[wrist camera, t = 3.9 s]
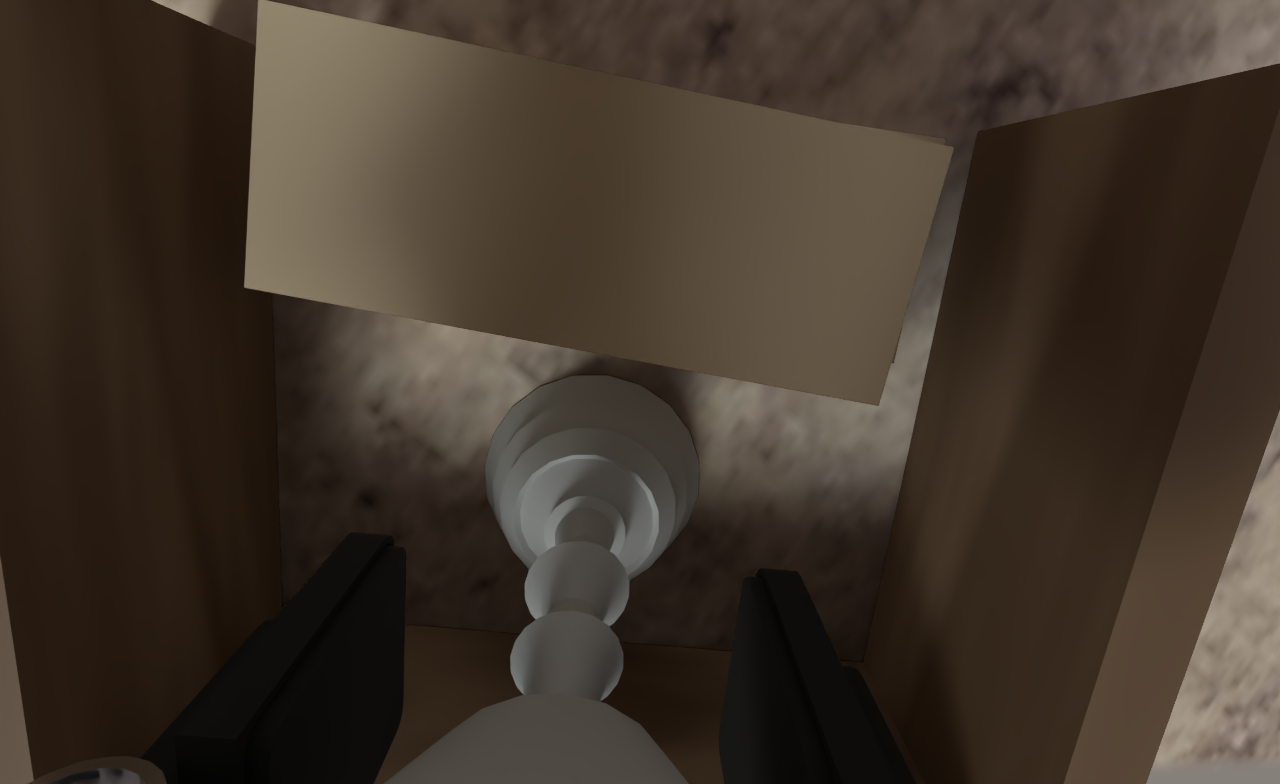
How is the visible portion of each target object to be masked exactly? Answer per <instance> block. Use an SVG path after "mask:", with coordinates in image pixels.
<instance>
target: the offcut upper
mask: <svg viewBox="0 0 1280 784" xmlns="http://www.w3.org/2000/svg"><path fill="white" fill-rule="evenodd" d="M953 150H954V147H950V146H945V145H941V144H936V143H931V142H927V141H922V140H917V139H913V138H908V137H903V136H899V135H894V134H889V133H885V132H880V131H875V130H871V129H866V128H861V127H857V126H852V125H847V124H843V123H838V122H833V121H829V120H824V119H819V118H815V117H810V116H805V115H800V114H796V113H791V112H786V111H782V110H777V109H772V108H768V107H763V106H758V105H754V104H749V103H744V102H740V101H735V100H730V99H726V98H721V97H716V96H712V95H707V94H702V93H698V92H693V91H688V90H684V89H679V88H674V87H670V86H665V85H660V84H656V83H651V82H646V81H642V80H637V79H632V78H628V77H623V76H618V75H613V74H609V73H604V72H599V71H595V70H590V69H585V68H581V67H576V66H571V65H567V64H562V63H557V62H553V61H548V60H543V59H539V58H534V57H529V56H525V55H520V54H515V53H511V52H506V51H501V50H497V49H492V48H487V47H483V46H478V45H473V44H469V43H464V42H459V41H455V40H450V39H445V38H441V37H436V36H431V35H427V34H422V33H417V32H412V31H408V30H403V29H398V28H394V27H389V26H384V25H380V24H375V23H370V22H366V21H361V20H356V19H352V18H347V17H342V16H338V15H333V14H328V13H324V12H319V11H314V10H310V9H305V8H300V7H296V6H291V5H286V4H282V3H277V2H272V1H268V0H258V15H257V35H256V56H255V77H254V97H253V118H252V138H251V159H250V179H249V200H248V220H247V241H246V261H245V282H244V288H250V289H255V290H260V291H266V292H271V293H276V294H282V295H287V296H292V297H298V298H303V299H308V300H314V301H319V302H325V303H330V304H335V305H341V306H346V307H351V308H357V309H362V310H367V311H373V312H378V313H383V314H389V315H394V316H400V317H405V318H410V319H416V320H421V321H426V322H432V323H437V324H442V325H448V326H453V327H458V328H464V329H469V330H475V331H480V332H485V333H491V334H496V335H501V336H507V337H512V338H517V339H523V340H528V341H533V342H539V343H544V344H550V345H555V346H560V347H566V348H571V349H576V350H582V351H587V352H592V353H598V354H603V355H608V356H614V357H619V358H625V359H630V360H635V361H641V362H646V363H651V364H657V365H662V366H667V367H673V368H678V369H683V370H689V371H694V372H700V373H705V374H710V375H716V376H721V377H726V378H732V379H737V380H742V381H748V382H753V383H758V384H764V385H769V386H775V387H780V388H785V389H791V390H796V391H801V392H807V393H812V394H817V395H823V396H828V397H833V398H839V399H844V400H850V401H855V402H860V403H866V404H871V405H876V406H879V403H880V399H881V396H882V392H883V389H884V385H885V382H886V379H887V375H888V372H889V368H890V365H891V362H892V358H893V355H894V351H895V348H896V345H897V341H898V338H899V334H900V331H901V327H902V324H903V321H904V317H905V314H906V310H907V307H908V304H909V300H910V297H911V293H912V290H913V286H914V283H915V280H916V276H917V273H918V269H919V266H920V263H921V259H922V256H923V252H924V249H925V246H926V242H927V239H928V235H929V232H930V228H931V225H932V222H933V218H934V215H935V211H936V208H937V205H938V201H939V198H940V194H941V191H942V188H943V184H944V181H945V177H946V174H947V170H948V167H949V164H950V160H951V157H952V153H953Z"/></svg>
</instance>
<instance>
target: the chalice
mask: <svg viewBox="0 0 1280 784" xmlns="http://www.w3.org/2000/svg"><path fill="white" fill-rule="evenodd" d="M485 478H486V493H487V499H488V501H489V504H490V506H491V508H492V511H493V513H494V516H495V518H496V520H497V523H498V525H499V527H500V528H501V529H502V531H503V533H504V535H505V538H506V539H507V540H508V542H509V545H510V547H511V549H512V550H513V552H514V553H515V554H516V555H517V556H518V557H519V558H520V560H521V561H522V562H523V563H524V564H525V565H526V567H527V568H528V569H529V572H528V575H527V578H526V581H525V600H526V603H527V606H528V608H529V611H530V613H531V615H532V616H533V617H534V618H535V619H536V620H535V621H534V622H532V623H531V624H529V625H528V626H527V627H525V628H524V630H523V631H522V633H521V634H520V635H519V637H518V638H517V639H516V641H515V643H514V646H513V649H512V652H511V656H510V663H511V674H512V676H513V679H514V681H515V684H516V686H517V688H518V689H519V690H520V691H521V692H522V693H523V695H521V696H518V697H515V698H512V699H509V700H506V701H503V702H500V703H497V704H494V705H491V706H488V707H485V708H482V709H481V710H479V711H478V712H476V713H475V714H474V715H472V716H471V717H469V718H468V719H467V720H465V721H464V722H462V723H461V724H459V725H458V726H457V727H455V728H454V729H452V730H451V731H450V732H448V733H447V734H446V735H444V736H443V737H442V738H441V739H439V740H438V741H437V742H436V743H434V744H433V745H432V746H431V747H429V748H428V749H427V750H425V751H424V752H423V753H422V754H420V755H419V756H418V757H417V758H415V759H414V760H413V761H412V762H410V763H409V764H408V765H406V766H405V767H404V768H403V769H401V770H400V771H399V772H398V773H396V774H395V775H394V776H393V777H391V778H390V779H389V780H387V781H386V782H385V783H384V784H689V783H688V782H687V781H686V780H685V778H684V777H683V776H682V775H681V773H680V772H679V771H678V770H677V768H676V767H675V766H674V765H673V763H672V762H671V761H670V760H669V758H668V757H667V756H666V755H665V753H664V752H663V751H662V750H661V749H660V747H659V746H658V745H657V744H656V743H655V741H654V740H653V739H652V738H651V737H650V735H649V734H648V733H647V732H646V731H645V729H644V728H643V727H642V726H641V725H640V724H639V723H637V722H636V721H634V720H632V719H631V718H629V717H628V716H626V715H624V714H623V713H621V712H619V711H618V710H616V709H614V708H613V707H611V706H609V705H608V704H606V703H602V702H600V701H601V700H603V699H604V698H606V697H607V696H608V695H609V694H610V693H611V691H612V690H613V689H614V687H615V686H616V685H617V684H618V681H619V678H620V676H621V673H622V670H623V651H622V648H621V645H620V642H619V639H618V637H617V636H616V635H615V633H614V632H613V631H612V630H611V628H610V627H609V626H610V625H612V624H613V623H615V621H616V620H617V619H618V618H619V616H620V615H621V614H622V612H623V611H624V609H625V606H626V603H627V601H628V598H629V581H630V580H632V579H633V578H635V577H636V576H638V575H639V574H640V573H642V572H643V571H645V570H646V569H648V568H649V567H651V565H652V564H653V563H654V562H655V560H656V559H657V558H659V557H660V555H661V554H662V553H663V552H664V550H666V549H667V548H669V546H670V545H671V544H672V542H673V541H674V540H675V539H676V537H677V536H678V535H679V534H680V532H681V531H682V530H683V529H684V527H685V526H686V525H687V524H688V521H689V518H690V516H691V513H692V510H693V507H694V505H695V502H696V499H697V497H698V494H699V460H698V457H697V454H696V451H695V448H694V445H693V442H692V439H691V435H690V432H689V430H688V429H687V428H686V426H685V425H684V424H683V422H682V421H681V420H680V419H679V417H678V416H677V415H676V413H675V412H674V411H673V409H672V408H671V407H670V405H669V404H667V403H666V402H664V401H663V400H662V399H660V398H659V397H657V396H656V395H654V394H653V393H651V392H650V391H649V390H647V389H646V388H644V387H643V386H641V385H638V384H635V383H632V382H628V381H625V380H622V379H618V378H615V377H612V376H608V375H590V376H570V377H567V378H564V379H561V380H558V381H555V382H552V383H549V384H546V385H543V386H540V387H538V388H537V389H536V390H534V391H533V392H532V393H530V394H529V395H528V396H526V397H525V398H524V399H522V400H521V401H520V402H518V403H517V404H516V405H514V406H513V407H512V408H511V409H510V411H509V412H508V414H507V415H506V417H505V418H504V420H503V421H502V422H501V424H500V425H499V427H498V428H497V430H496V431H495V433H494V434H493V437H492V441H491V444H490V448H489V452H488V455H487V459H486V462H485Z"/></svg>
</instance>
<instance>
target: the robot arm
mask: <svg viewBox="0 0 1280 784" xmlns="http://www.w3.org/2000/svg"><path fill="white" fill-rule="evenodd" d="M405 596H406V551H405V548H404V547H399V546H394V540H393V538H392V536H387V535H376V534H365V533H350V534H349V535H347V537H346V538H345V539H344V540H343V541H342V542H341V544H340V545H339V546H338V547H337V548H336V549H335V550H334V552H333V553H332V554H331V555H330V556H329V557H328V558H327V560H326V561H325V562H324V563H323V564H322V565H321V567H320V568H319V569H318V570H317V571H316V572H315V573H314V575H313V576H312V577H311V578H310V579H309V580H308V581H307V583H306V584H305V585H304V586H303V587H302V588H301V590H300V591H299V592H298V593H297V594H296V595H295V596H294V598H293V599H292V600H291V601H290V602H289V603H288V604H287V606H286V607H285V608H284V609H283V610H282V611H281V613H280V614H279V615H278V616H277V617H276V618H275V619H270V620H266V621H264V622H263V623H262V624H261V625H259V626H258V627H257V628H256V629H255V630H254V632H253V633H252V634H251V635H250V636H249V637H248V638H247V639H246V641H245V642H244V643H243V644H242V645H241V646H240V647H239V648H238V649H237V651H236V652H235V653H234V654H233V655H232V656H231V657H230V658H229V660H228V661H227V662H226V663H225V664H224V665H223V666H222V667H221V669H220V670H219V671H218V672H217V673H216V674H215V675H214V676H213V677H212V679H211V680H210V681H209V682H208V683H207V684H206V685H205V686H204V688H203V689H202V690H201V691H200V692H199V693H198V694H197V695H196V696H195V698H194V699H193V700H192V701H191V702H190V703H189V704H188V705H187V707H186V708H185V709H184V710H183V711H182V712H181V713H180V714H179V715H178V717H177V718H176V719H175V720H174V721H173V722H172V723H171V724H170V726H169V727H168V728H167V729H166V730H165V731H164V732H163V733H162V734H161V736H160V737H159V738H158V739H157V740H156V741H155V742H154V743H153V745H152V746H151V747H150V748H149V749H148V750H147V751H146V752H145V753H144V755H143V756H142V757H141V758H140V759H139V758H135V757H132V756H106V757H101V758H96V759H91V760H86V761H81V762H77V763H74V764H71V765H69V766H66V767H63V768H60V769H58V770H55V771H52V772H50V773H47V774H45V775H43V776H41V777H40V778H38V779H36V780H34V781H32V782H30V783H28V784H374V782H375V780H376V777H377V775H378V773H379V771H380V769H381V766H382V764H383V762H384V760H385V757H386V755H387V753H388V751H389V748H390V746H391V744H392V742H393V739H394V737H395V735H396V733H397V730H398V728H399V724H400V721H401V716H402V711H403V701H404V650H405ZM719 753H720V760H721V767H722V773H723V779H724V784H916V782H915V780H914V778H913V776H912V774H911V772H910V770H909V768H908V766H907V764H906V762H905V760H904V758H903V756H902V754H901V752H900V750H899V748H898V746H897V744H896V742H895V740H894V738H893V736H892V734H891V732H890V730H889V728H888V726H887V724H886V722H885V720H884V718H883V716H882V714H881V712H880V710H879V708H878V706H877V704H876V702H875V700H874V698H873V696H872V694H871V692H870V690H869V688H868V686H867V684H866V682H865V680H864V678H863V676H862V675H861V673H860V672H859V670H858V669H856V668H855V667H853V666H842V664H841V662H840V660H839V658H838V656H837V653H836V651H835V649H834V647H833V645H832V643H831V641H830V638H829V636H828V634H827V632H826V630H825V628H824V626H823V623H822V621H821V619H820V617H819V615H818V613H817V611H816V608H815V606H814V604H813V602H812V600H811V598H810V595H809V593H808V591H807V589H806V587H805V585H804V583H803V580H802V578H801V576H800V574H799V573H798V572H797V571H788V570H776V569H765V568H760V569H759V570H758V572H757V574H756V577H745V578H744V581H743V585H742V591H741V597H740V603H739V610H738V616H737V622H736V629H735V635H734V641H733V647H732V654H731V660H730V666H729V673H728V679H727V685H726V691H725V698H724V704H723V710H722V717H721V723H720V730H719Z"/></svg>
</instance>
